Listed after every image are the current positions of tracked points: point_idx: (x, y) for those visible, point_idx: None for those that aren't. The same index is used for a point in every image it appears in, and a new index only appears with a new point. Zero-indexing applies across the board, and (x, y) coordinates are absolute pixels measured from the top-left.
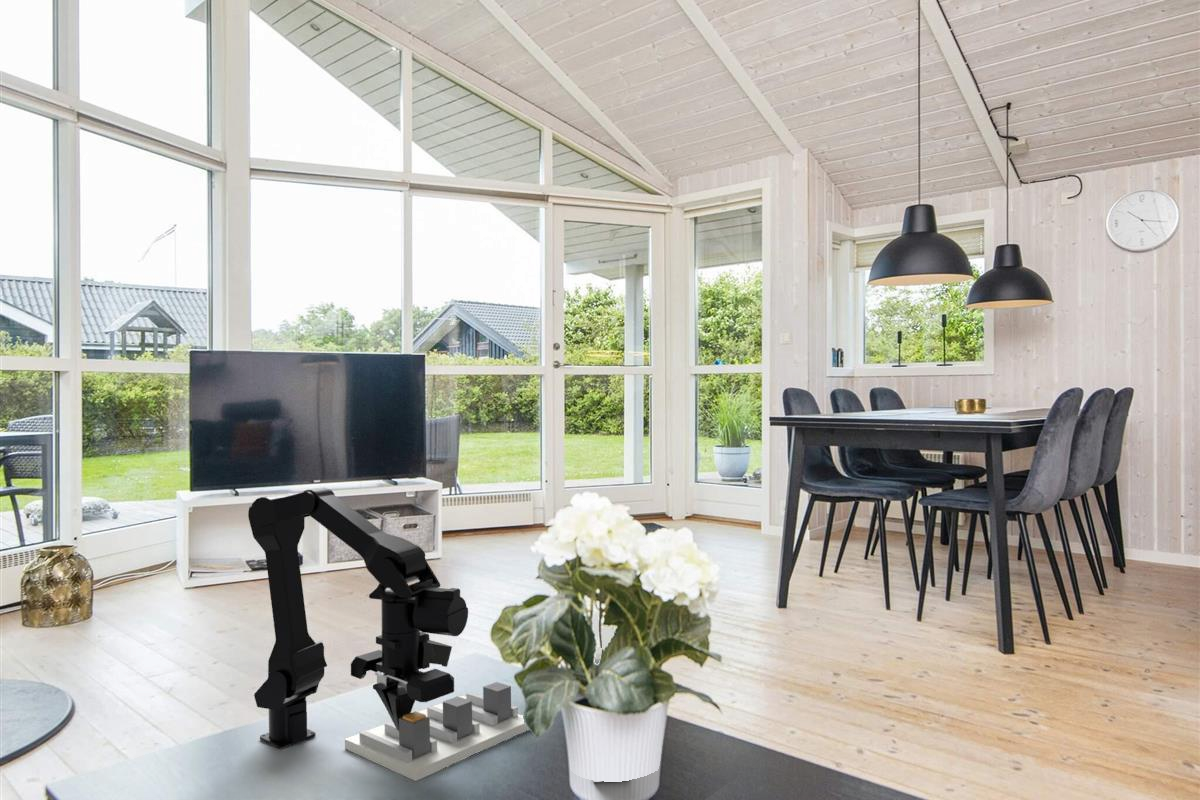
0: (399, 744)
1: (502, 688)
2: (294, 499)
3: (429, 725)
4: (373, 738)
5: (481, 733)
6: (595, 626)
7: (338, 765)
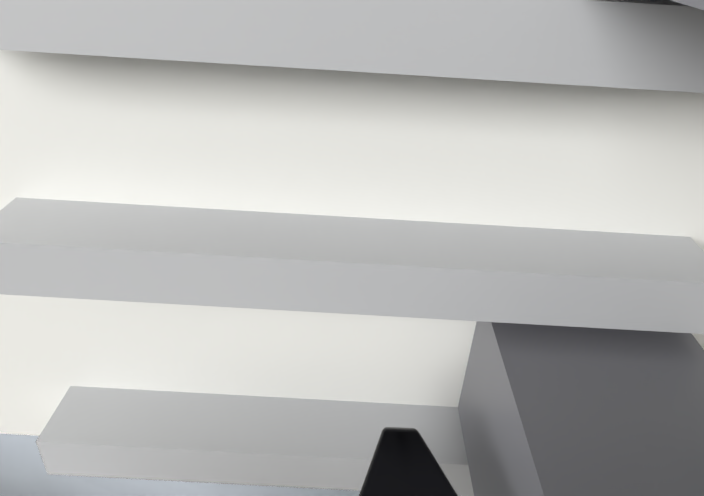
0: (467, 450)
1: None
2: None
3: None
4: (226, 483)
5: None
6: None
7: (185, 488)
